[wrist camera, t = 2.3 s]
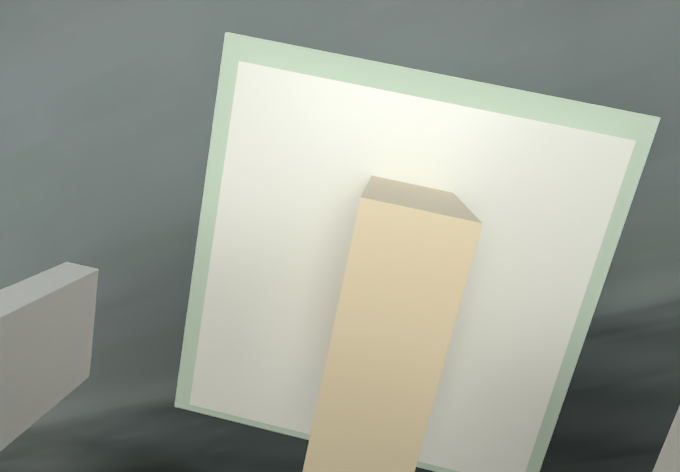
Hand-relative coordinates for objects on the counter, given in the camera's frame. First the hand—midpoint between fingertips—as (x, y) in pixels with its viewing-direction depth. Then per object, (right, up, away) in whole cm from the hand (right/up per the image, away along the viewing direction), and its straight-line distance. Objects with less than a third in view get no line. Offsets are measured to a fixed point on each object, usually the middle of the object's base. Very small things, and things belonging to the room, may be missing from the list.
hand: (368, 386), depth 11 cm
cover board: (+1, +2, +9) cm, 9 cm away
